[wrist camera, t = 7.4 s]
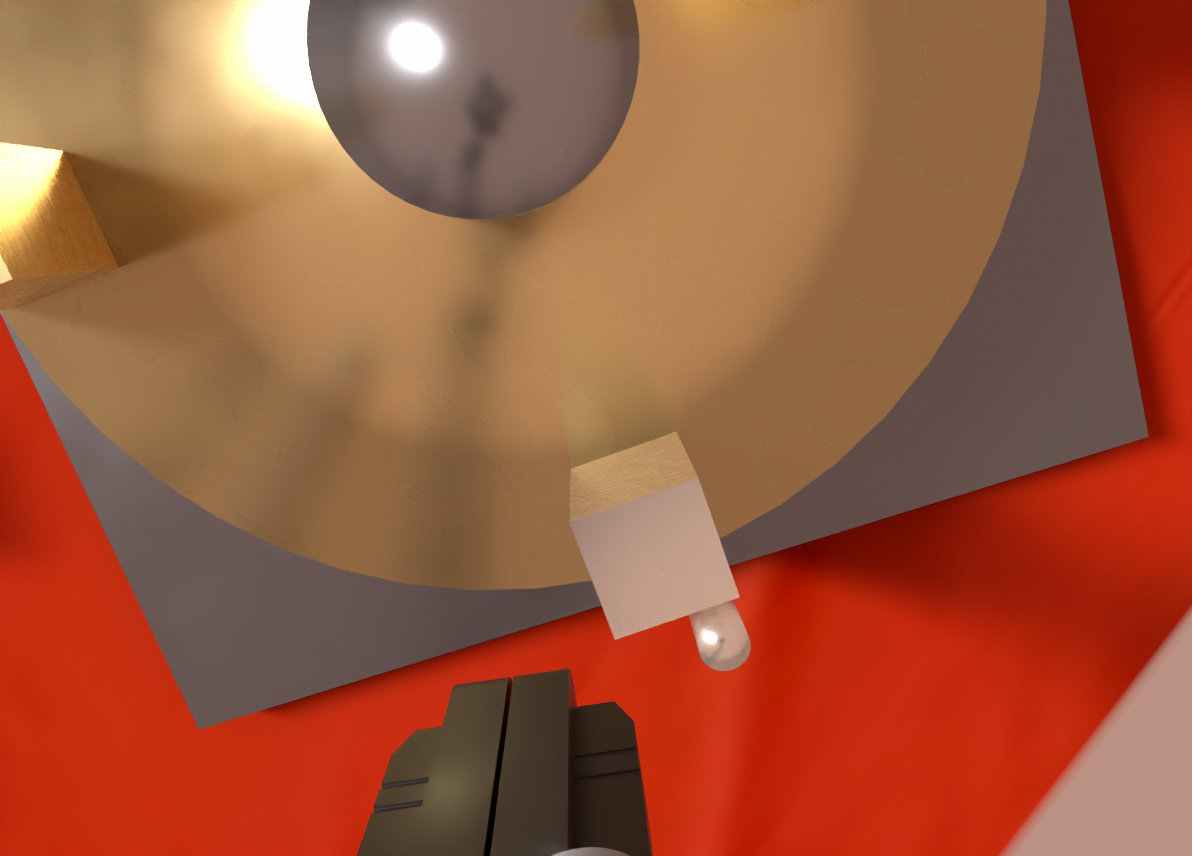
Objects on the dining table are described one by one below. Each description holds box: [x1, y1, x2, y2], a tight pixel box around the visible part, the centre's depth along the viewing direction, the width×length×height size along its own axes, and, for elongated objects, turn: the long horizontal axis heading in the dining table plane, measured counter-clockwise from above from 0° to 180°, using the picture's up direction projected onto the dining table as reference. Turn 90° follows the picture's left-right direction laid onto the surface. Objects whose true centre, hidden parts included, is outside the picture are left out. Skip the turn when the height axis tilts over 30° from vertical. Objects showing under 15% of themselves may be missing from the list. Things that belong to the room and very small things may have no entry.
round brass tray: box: [0, 0, 1047, 640], centre depth 17 cm, size 22×22×6 cm
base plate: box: [0, 0, 1149, 729], centre depth 18 cm, size 26×26×8 cm
